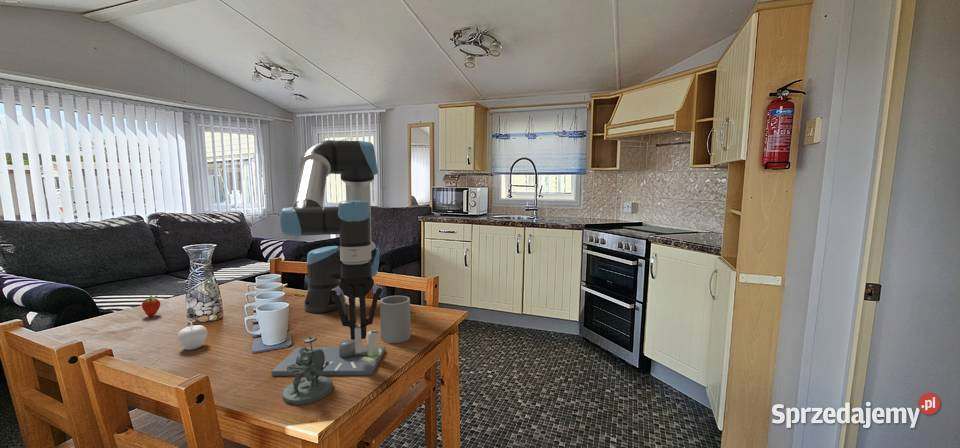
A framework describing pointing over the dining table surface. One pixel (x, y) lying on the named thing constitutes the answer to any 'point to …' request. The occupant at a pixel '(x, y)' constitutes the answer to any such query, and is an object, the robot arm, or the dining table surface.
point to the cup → (395, 319)
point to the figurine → (307, 377)
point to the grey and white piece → (372, 349)
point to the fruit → (151, 305)
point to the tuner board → (334, 363)
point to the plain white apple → (192, 336)
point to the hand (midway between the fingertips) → (359, 350)
